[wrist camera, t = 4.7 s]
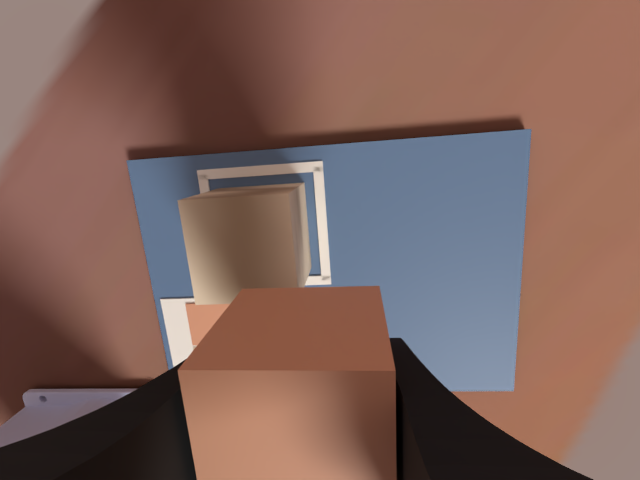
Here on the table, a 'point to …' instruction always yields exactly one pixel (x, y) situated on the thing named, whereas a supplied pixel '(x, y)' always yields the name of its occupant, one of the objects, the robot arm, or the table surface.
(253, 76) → the table surface
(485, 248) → the board
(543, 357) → the table surface
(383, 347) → the terracotta cube
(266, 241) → the maple cube
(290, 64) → the table surface
